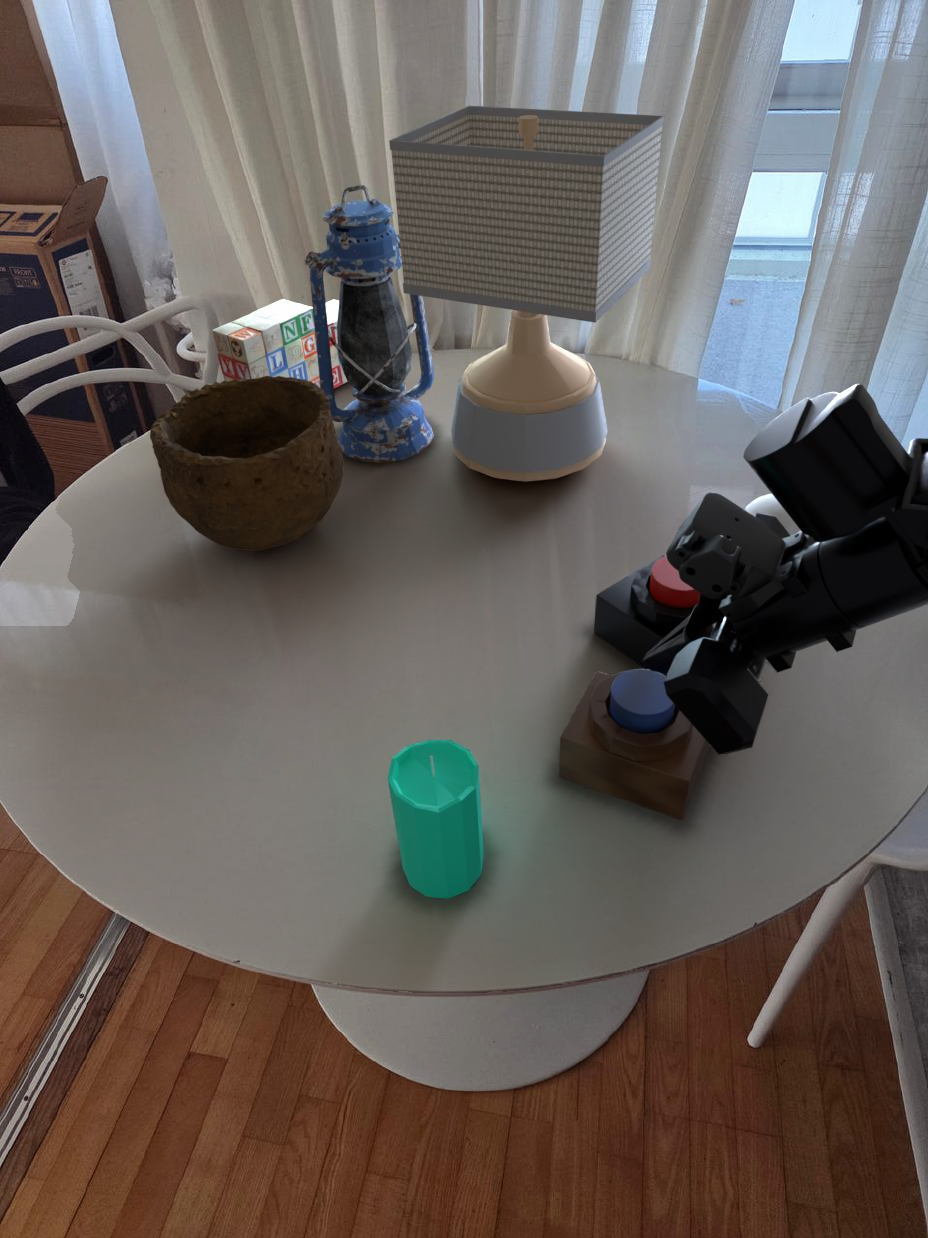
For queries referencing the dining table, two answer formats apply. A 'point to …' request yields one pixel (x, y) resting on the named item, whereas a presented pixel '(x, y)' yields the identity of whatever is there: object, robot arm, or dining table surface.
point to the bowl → (250, 460)
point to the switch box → (635, 616)
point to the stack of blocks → (276, 344)
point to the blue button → (641, 701)
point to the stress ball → (773, 511)
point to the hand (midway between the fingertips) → (647, 662)
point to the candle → (437, 816)
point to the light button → (671, 586)
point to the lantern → (370, 334)
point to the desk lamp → (528, 263)
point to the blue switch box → (631, 754)
